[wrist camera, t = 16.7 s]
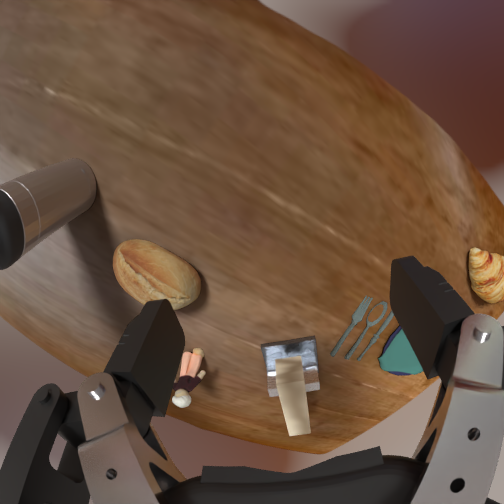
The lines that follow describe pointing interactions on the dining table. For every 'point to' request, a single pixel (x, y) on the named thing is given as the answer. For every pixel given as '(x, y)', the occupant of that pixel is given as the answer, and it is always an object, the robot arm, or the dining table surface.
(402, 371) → the cutlery set
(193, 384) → the grandmother figurine
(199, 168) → the dining table surface
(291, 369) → the birch bar
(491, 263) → the croissant
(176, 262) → the bread roll
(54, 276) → the dining table surface
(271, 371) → the ridge stand
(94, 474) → the robot arm
